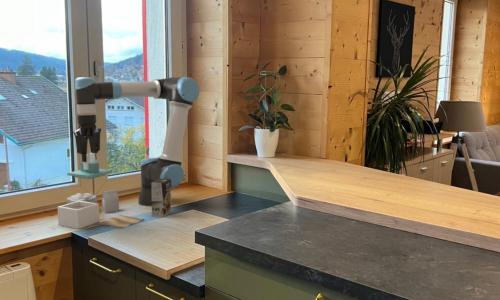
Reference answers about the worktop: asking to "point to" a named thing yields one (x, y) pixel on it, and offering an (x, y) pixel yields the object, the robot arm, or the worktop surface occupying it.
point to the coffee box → (161, 197)
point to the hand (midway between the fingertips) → (89, 168)
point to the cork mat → (121, 221)
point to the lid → (89, 171)
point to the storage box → (78, 214)
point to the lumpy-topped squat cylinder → (82, 198)
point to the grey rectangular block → (110, 201)
